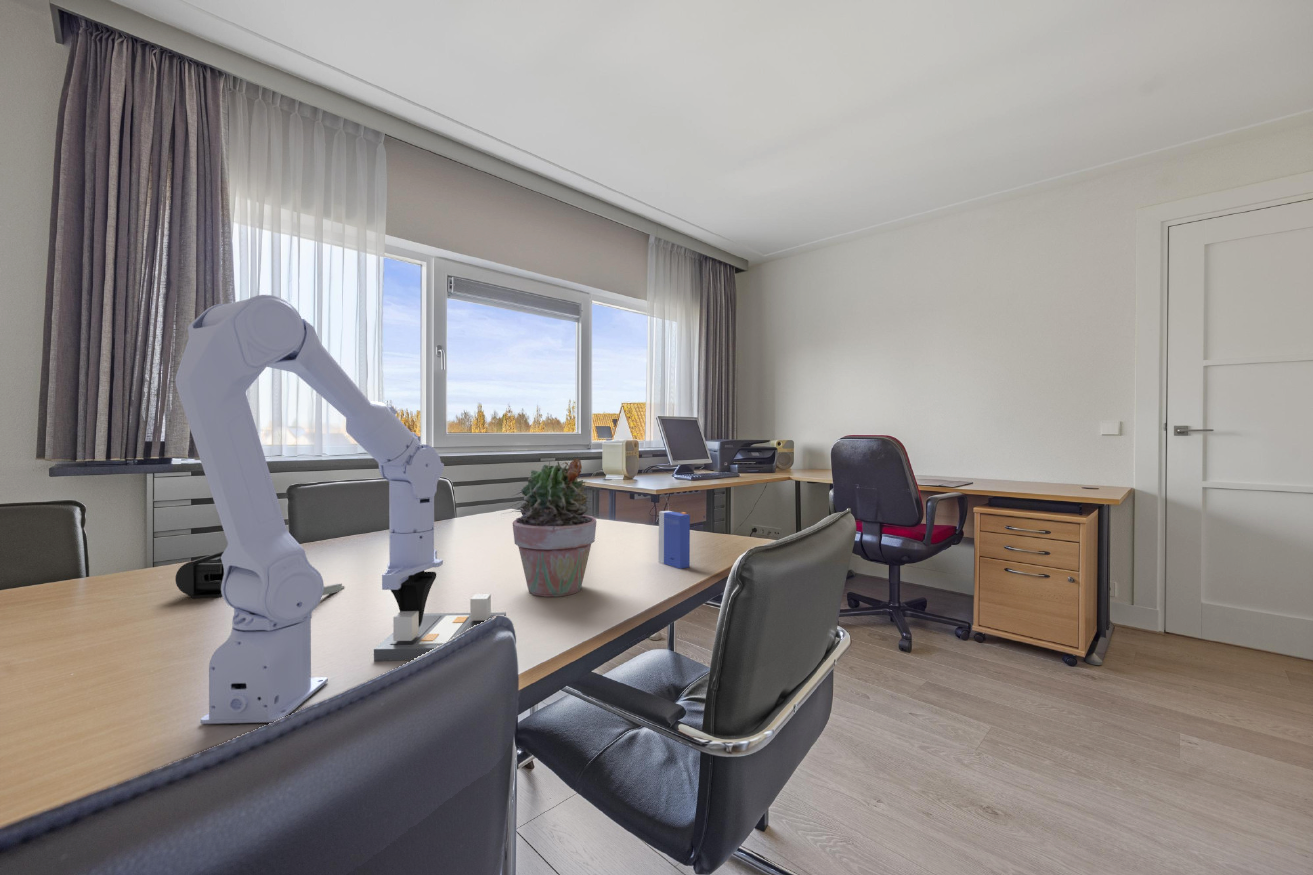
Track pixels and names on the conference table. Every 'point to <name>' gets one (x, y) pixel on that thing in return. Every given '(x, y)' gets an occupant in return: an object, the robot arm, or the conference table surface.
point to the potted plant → (554, 530)
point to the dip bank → (427, 636)
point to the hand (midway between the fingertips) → (412, 626)
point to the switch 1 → (405, 625)
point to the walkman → (674, 539)
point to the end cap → (202, 577)
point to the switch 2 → (480, 607)
